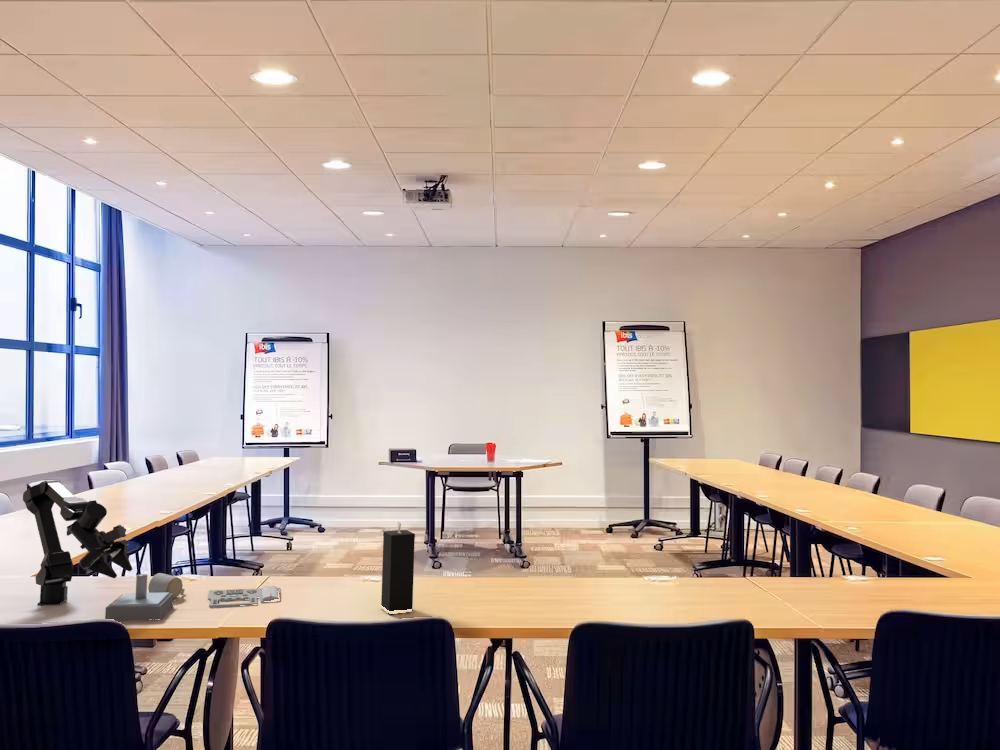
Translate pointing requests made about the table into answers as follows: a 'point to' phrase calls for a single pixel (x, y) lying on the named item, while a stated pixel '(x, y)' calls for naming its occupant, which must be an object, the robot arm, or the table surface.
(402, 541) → the black pillar candle
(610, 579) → the table surface
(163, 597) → the square plate with knob
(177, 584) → the ceramic mug
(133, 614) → the gray square slab
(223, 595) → the office telephone
